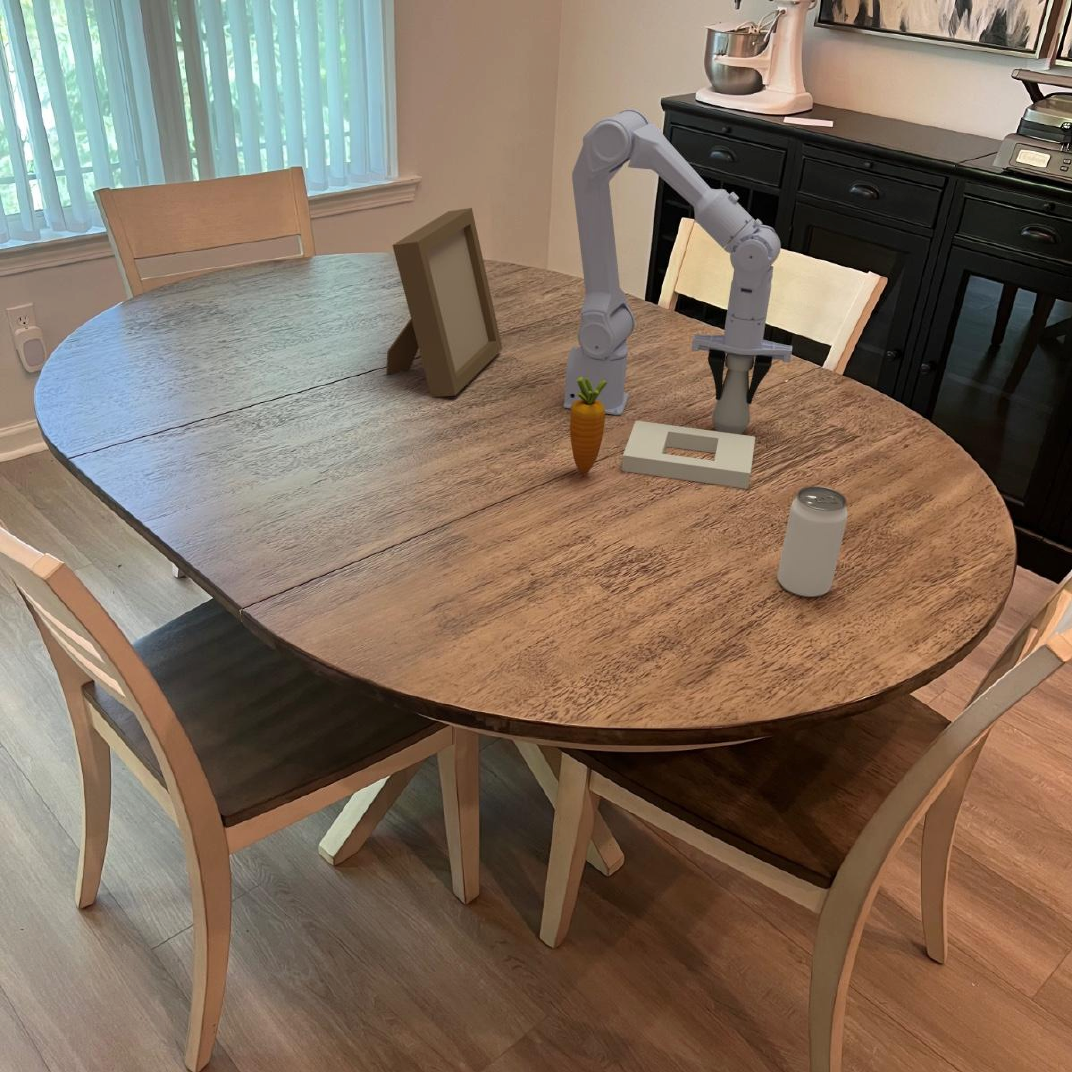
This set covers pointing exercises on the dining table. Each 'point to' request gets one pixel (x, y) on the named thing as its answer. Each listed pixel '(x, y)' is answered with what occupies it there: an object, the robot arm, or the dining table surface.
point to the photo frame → (445, 304)
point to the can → (812, 541)
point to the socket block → (724, 470)
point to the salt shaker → (734, 396)
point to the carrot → (587, 425)
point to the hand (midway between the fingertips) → (733, 399)
